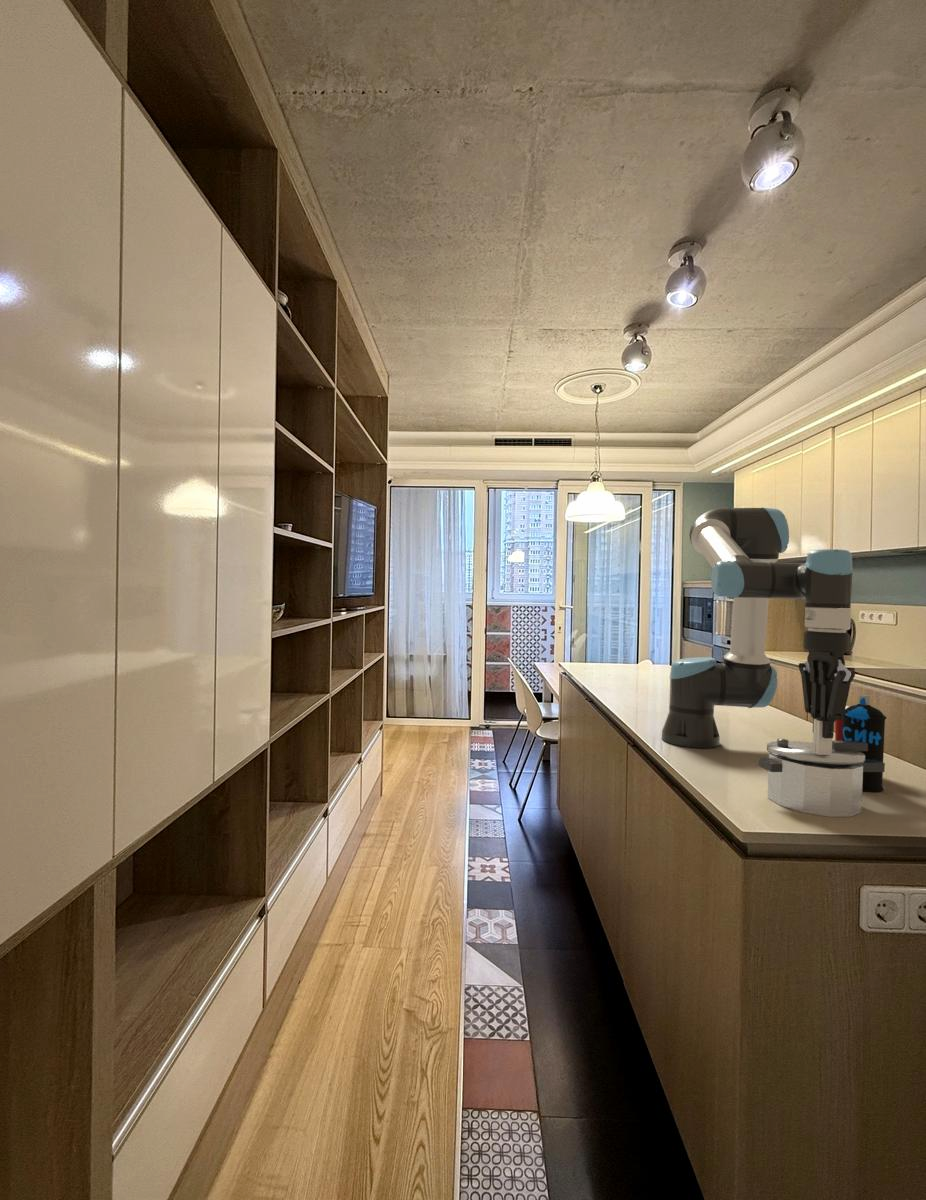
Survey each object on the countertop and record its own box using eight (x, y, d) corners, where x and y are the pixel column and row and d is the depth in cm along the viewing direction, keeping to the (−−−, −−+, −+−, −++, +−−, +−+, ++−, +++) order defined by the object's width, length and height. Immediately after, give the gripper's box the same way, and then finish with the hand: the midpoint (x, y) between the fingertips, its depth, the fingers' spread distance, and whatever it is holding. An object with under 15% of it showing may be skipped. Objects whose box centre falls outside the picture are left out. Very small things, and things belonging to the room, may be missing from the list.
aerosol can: (844, 778, 139) (847, 690, 138) (887, 787, 133) (891, 696, 133) (834, 785, 133) (837, 694, 133) (878, 795, 127) (882, 700, 127)
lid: (748, 744, 130) (749, 732, 130) (833, 745, 131) (833, 733, 131) (800, 764, 112) (800, 750, 112) (897, 765, 114) (897, 751, 114)
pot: (738, 786, 130) (739, 744, 130) (844, 786, 132) (846, 745, 132) (788, 816, 113) (789, 768, 113) (910, 816, 115) (912, 769, 115)
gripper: (786, 628, 122) (782, 744, 122) (831, 632, 109) (826, 763, 109) (822, 629, 123) (818, 745, 123) (870, 633, 110) (866, 763, 110)
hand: (822, 753), depth 116 cm, fingers closed
